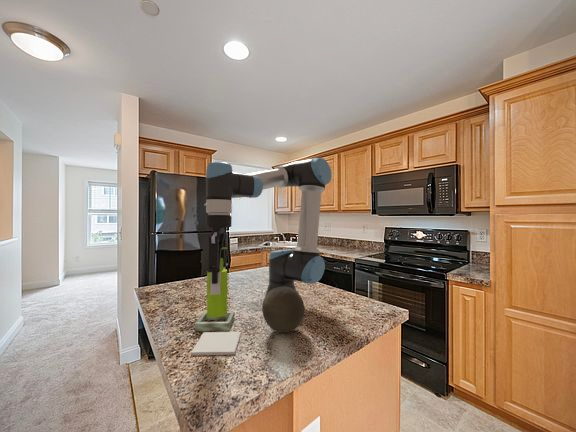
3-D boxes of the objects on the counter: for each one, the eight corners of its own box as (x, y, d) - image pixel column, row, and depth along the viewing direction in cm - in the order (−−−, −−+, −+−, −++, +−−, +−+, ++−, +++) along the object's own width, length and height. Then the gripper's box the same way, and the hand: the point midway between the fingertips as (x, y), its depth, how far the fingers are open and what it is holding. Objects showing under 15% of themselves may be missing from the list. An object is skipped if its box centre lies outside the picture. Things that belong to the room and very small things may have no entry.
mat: (240, 334, 82) (240, 331, 82) (234, 354, 70) (234, 351, 70) (203, 334, 82) (203, 332, 82) (191, 355, 70) (191, 352, 70)
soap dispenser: (232, 310, 79) (232, 246, 79) (219, 318, 72) (220, 249, 72) (216, 308, 80) (217, 245, 81) (202, 316, 74) (203, 248, 74)
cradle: (234, 318, 95) (234, 311, 95) (229, 330, 85) (229, 323, 85) (203, 318, 95) (203, 311, 95) (194, 331, 84) (194, 323, 84)
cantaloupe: (264, 322, 91) (265, 281, 91) (303, 323, 91) (304, 282, 91) (259, 342, 77) (259, 293, 77) (305, 343, 77) (305, 294, 77)
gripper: (214, 214, 85) (213, 282, 85) (196, 213, 66) (195, 301, 66) (236, 214, 86) (235, 282, 85) (224, 214, 67) (224, 301, 67)
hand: (218, 290), depth 76 cm, fingers closed on soap dispenser, 6 cm apart
